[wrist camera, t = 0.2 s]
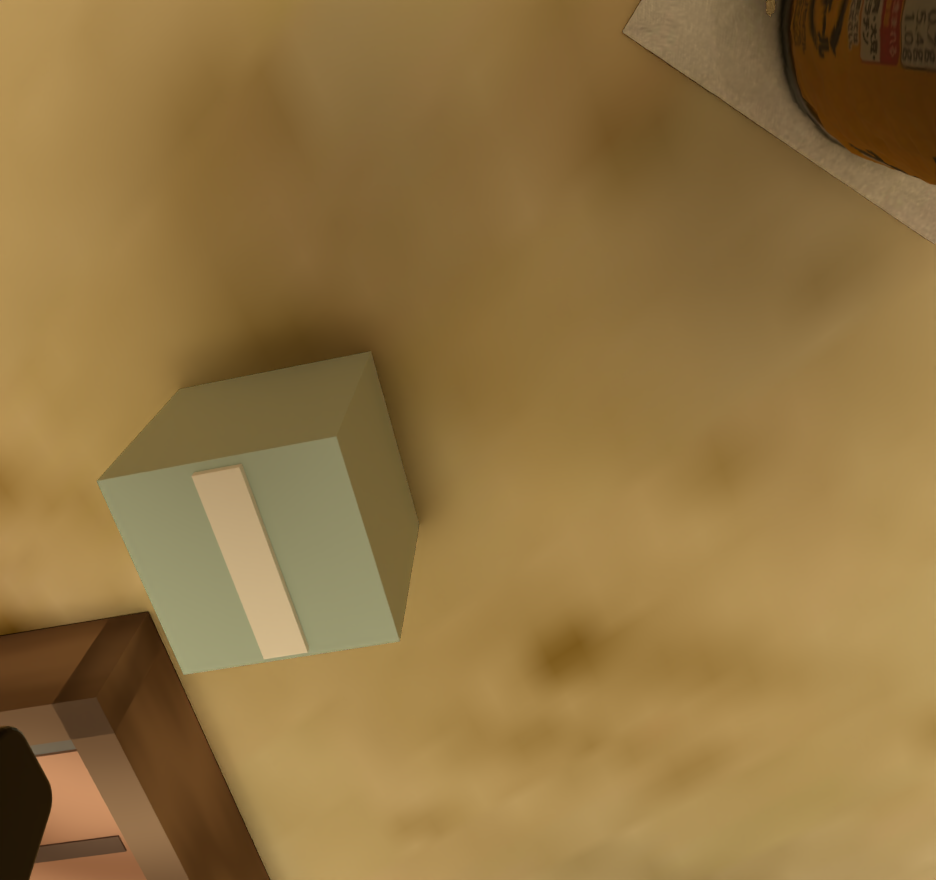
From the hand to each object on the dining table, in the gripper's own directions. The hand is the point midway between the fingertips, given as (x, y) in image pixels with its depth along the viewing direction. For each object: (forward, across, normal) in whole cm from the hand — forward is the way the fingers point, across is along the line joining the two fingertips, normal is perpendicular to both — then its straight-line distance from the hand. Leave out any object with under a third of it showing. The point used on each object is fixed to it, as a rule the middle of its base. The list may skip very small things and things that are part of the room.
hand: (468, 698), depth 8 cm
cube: (+14, +6, +3) cm, 15 cm away
